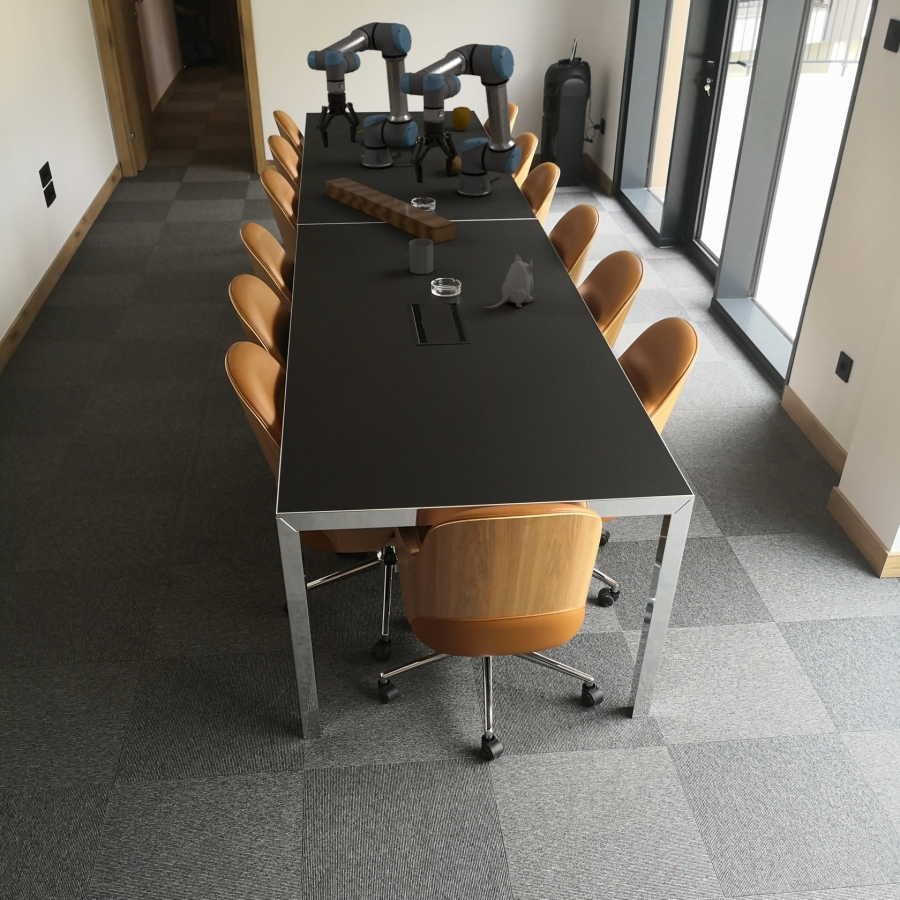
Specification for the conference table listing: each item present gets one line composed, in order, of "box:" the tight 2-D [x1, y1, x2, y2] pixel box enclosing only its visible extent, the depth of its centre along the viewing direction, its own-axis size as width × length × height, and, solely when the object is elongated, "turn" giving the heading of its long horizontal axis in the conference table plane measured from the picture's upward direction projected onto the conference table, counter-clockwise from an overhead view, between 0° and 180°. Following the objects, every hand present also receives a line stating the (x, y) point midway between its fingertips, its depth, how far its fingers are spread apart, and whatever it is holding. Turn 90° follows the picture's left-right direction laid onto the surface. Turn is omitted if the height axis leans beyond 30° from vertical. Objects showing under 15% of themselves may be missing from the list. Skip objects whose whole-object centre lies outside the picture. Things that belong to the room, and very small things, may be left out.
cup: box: [408, 237, 434, 275], centre depth 305 cm, size 8×8×10 cm
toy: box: [483, 253, 535, 309], centre depth 276 cm, size 9×24×15 cm, turn 137°
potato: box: [443, 156, 461, 175], centre depth 412 cm, size 10×14×8 cm
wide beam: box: [325, 177, 456, 245], centre depth 358 cm, size 80×10×6 cm, turn 38°
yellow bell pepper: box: [451, 105, 472, 132], centre depth 487 cm, size 11×11×13 cm
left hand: (339, 144), depth 370 cm, fingers open, 13 cm apart
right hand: (434, 179), depth 325 cm, fingers open, 13 cm apart
